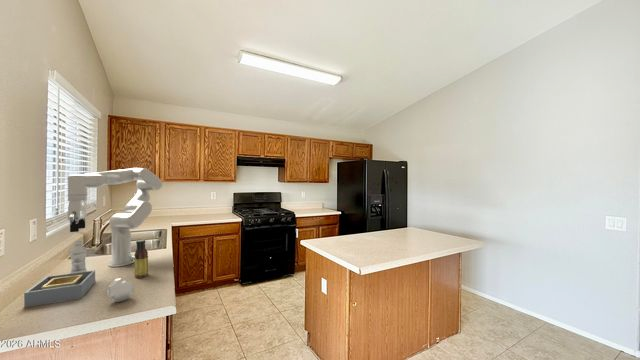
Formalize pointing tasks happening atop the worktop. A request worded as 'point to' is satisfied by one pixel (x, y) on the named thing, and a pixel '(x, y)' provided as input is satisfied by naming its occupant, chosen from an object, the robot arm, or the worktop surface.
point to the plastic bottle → (78, 257)
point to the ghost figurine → (120, 290)
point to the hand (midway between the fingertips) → (78, 230)
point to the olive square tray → (63, 282)
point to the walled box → (58, 290)
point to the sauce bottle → (141, 260)
